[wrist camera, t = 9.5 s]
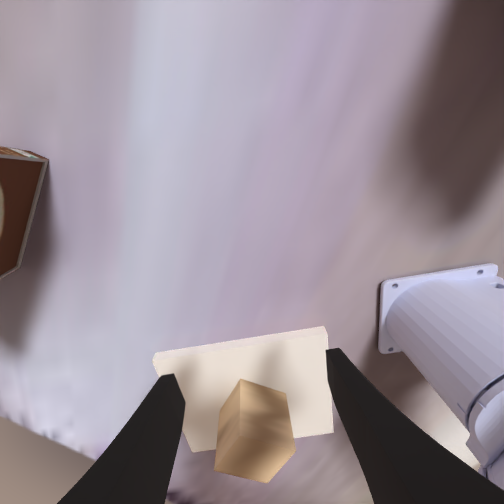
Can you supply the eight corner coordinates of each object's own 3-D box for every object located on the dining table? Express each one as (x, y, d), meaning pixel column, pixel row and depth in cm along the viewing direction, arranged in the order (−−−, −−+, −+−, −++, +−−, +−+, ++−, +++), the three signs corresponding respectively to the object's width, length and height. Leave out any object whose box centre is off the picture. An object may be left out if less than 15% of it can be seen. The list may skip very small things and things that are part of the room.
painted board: (323, 325, 22) (327, 333, 21) (330, 423, 27) (333, 432, 26) (155, 352, 22) (151, 360, 22) (194, 442, 28) (192, 452, 27)
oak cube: (285, 393, 24) (296, 450, 19) (262, 423, 25) (267, 483, 21) (240, 378, 23) (239, 435, 18) (219, 410, 24) (213, 470, 20)
